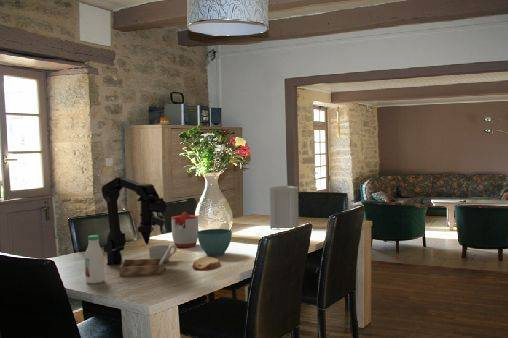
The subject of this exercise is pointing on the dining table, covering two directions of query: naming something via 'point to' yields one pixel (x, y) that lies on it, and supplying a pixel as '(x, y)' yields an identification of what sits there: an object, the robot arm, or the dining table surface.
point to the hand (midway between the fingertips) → (147, 244)
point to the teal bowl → (214, 241)
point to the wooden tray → (141, 267)
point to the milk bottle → (94, 261)
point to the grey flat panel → (166, 253)
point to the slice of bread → (205, 263)
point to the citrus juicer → (185, 230)
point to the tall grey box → (284, 207)
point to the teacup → (161, 252)
